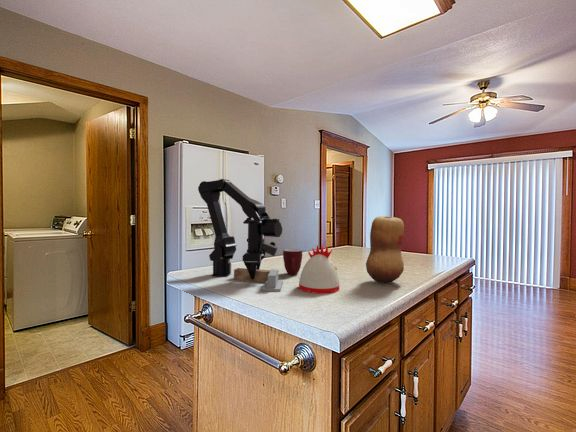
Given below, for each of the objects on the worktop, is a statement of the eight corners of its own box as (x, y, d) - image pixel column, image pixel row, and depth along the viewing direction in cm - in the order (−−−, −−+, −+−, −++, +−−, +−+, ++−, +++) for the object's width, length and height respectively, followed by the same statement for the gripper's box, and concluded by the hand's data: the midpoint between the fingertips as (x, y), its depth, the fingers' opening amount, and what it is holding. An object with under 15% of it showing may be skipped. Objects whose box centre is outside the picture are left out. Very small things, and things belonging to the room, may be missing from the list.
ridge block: (262, 291, 102) (262, 276, 102) (266, 282, 114) (266, 269, 114) (280, 291, 102) (280, 276, 101) (282, 282, 114) (283, 269, 113)
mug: (304, 277, 124) (304, 252, 123) (284, 277, 123) (284, 252, 122) (300, 271, 134) (300, 249, 134) (281, 272, 133) (282, 249, 133)
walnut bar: (233, 280, 119) (233, 269, 118) (237, 278, 122) (237, 267, 122) (273, 283, 114) (273, 272, 114) (276, 281, 118) (276, 270, 118)
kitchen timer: (338, 295, 99) (339, 248, 98) (296, 292, 101) (296, 246, 101) (339, 284, 112) (340, 243, 112) (302, 282, 115) (303, 242, 115)
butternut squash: (396, 289, 107) (397, 216, 106) (360, 283, 115) (361, 216, 114) (408, 281, 118) (409, 216, 117) (374, 276, 126) (375, 215, 125)
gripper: (273, 238, 108) (273, 282, 108) (278, 234, 127) (278, 272, 127) (242, 237, 109) (242, 282, 109) (251, 233, 127) (251, 271, 128)
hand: (255, 276), depth 118 cm, fingers open, 9 cm apart
